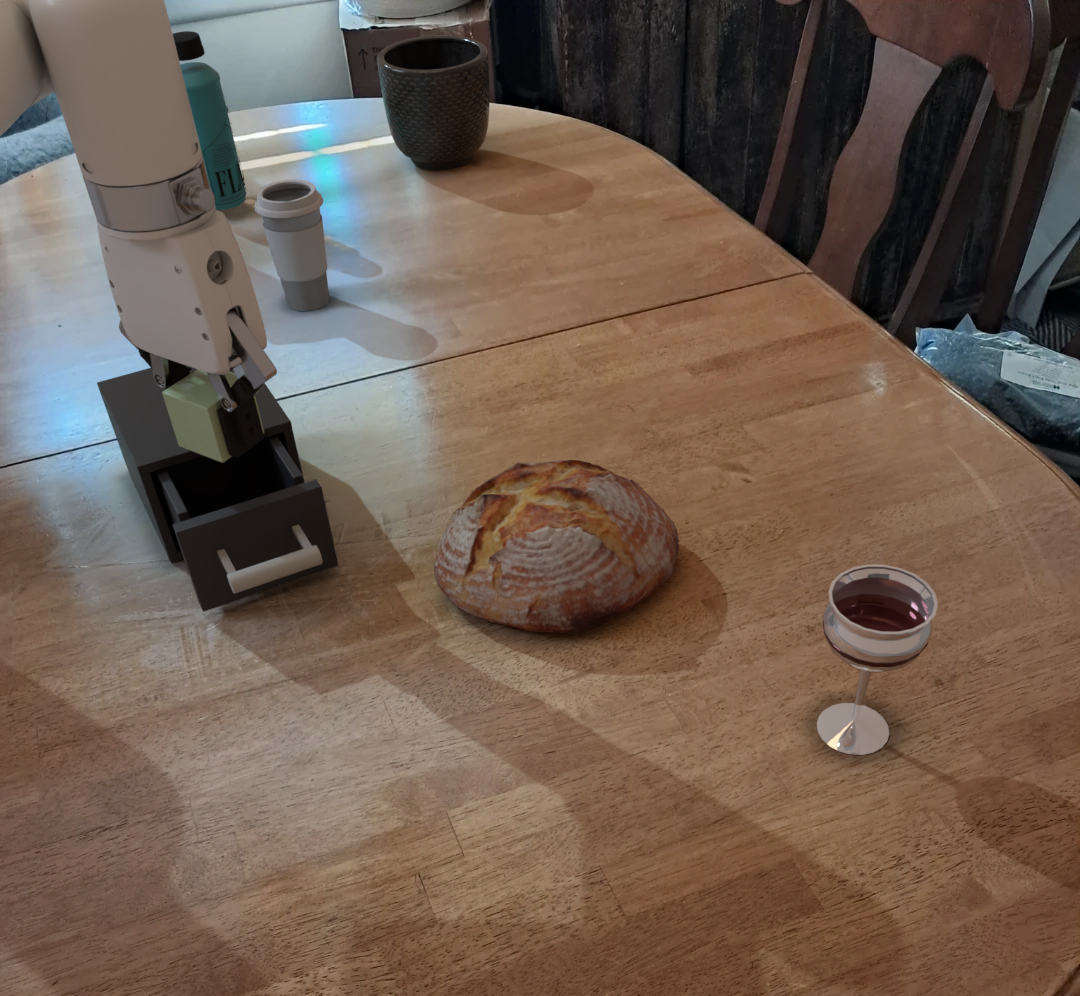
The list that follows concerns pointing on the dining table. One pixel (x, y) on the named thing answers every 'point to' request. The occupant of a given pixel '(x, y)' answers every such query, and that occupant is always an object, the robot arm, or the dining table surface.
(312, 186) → the cup
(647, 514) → the bread
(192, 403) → the block
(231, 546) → the mini filing drawer
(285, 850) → the dining table surface
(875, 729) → the wineglass
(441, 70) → the planter
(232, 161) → the beverage bottle
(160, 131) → the robot arm
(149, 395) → the cabinet
